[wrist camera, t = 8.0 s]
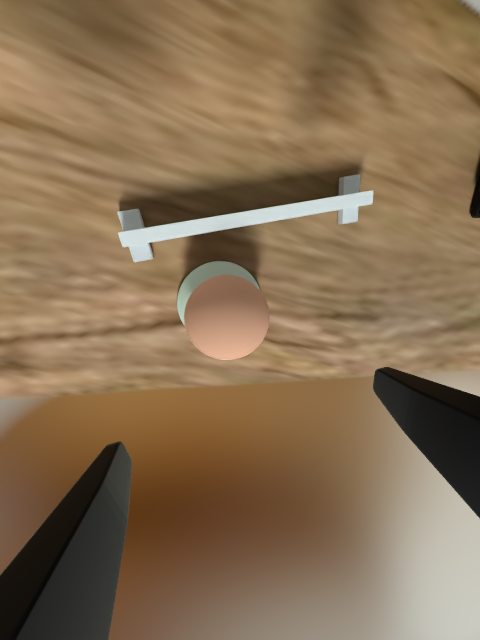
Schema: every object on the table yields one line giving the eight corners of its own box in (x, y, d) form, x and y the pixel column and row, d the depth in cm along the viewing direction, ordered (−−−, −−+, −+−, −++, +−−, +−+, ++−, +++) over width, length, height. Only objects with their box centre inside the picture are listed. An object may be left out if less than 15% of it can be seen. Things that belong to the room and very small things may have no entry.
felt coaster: (255, 253, 17) (256, 254, 17) (263, 330, 20) (265, 331, 20) (166, 270, 16) (166, 271, 16) (188, 347, 19) (188, 349, 19)
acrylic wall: (354, 175, 17) (375, 170, 15) (352, 221, 18) (370, 221, 16) (119, 212, 15) (110, 211, 13) (135, 260, 16) (129, 266, 14)
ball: (250, 260, 17) (279, 277, 12) (259, 327, 19) (285, 364, 15) (175, 275, 16) (172, 300, 11) (193, 343, 19) (197, 388, 14)
